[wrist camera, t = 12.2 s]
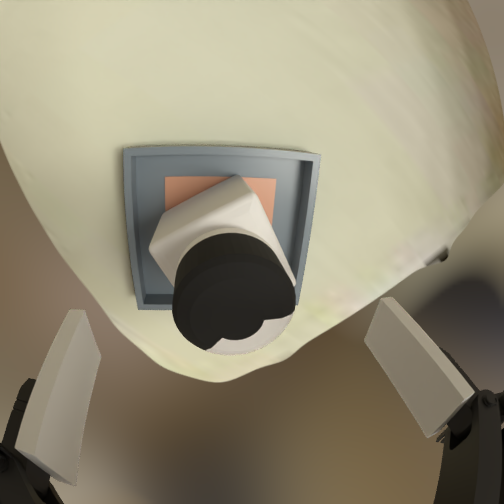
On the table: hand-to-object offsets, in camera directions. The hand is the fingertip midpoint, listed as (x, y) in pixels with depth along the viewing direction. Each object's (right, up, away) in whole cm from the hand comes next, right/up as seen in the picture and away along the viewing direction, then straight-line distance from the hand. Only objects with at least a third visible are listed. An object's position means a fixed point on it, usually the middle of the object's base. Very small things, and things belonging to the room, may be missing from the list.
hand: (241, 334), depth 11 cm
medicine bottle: (-2, +5, +12) cm, 13 cm away
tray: (-3, +6, +13) cm, 14 cm away
